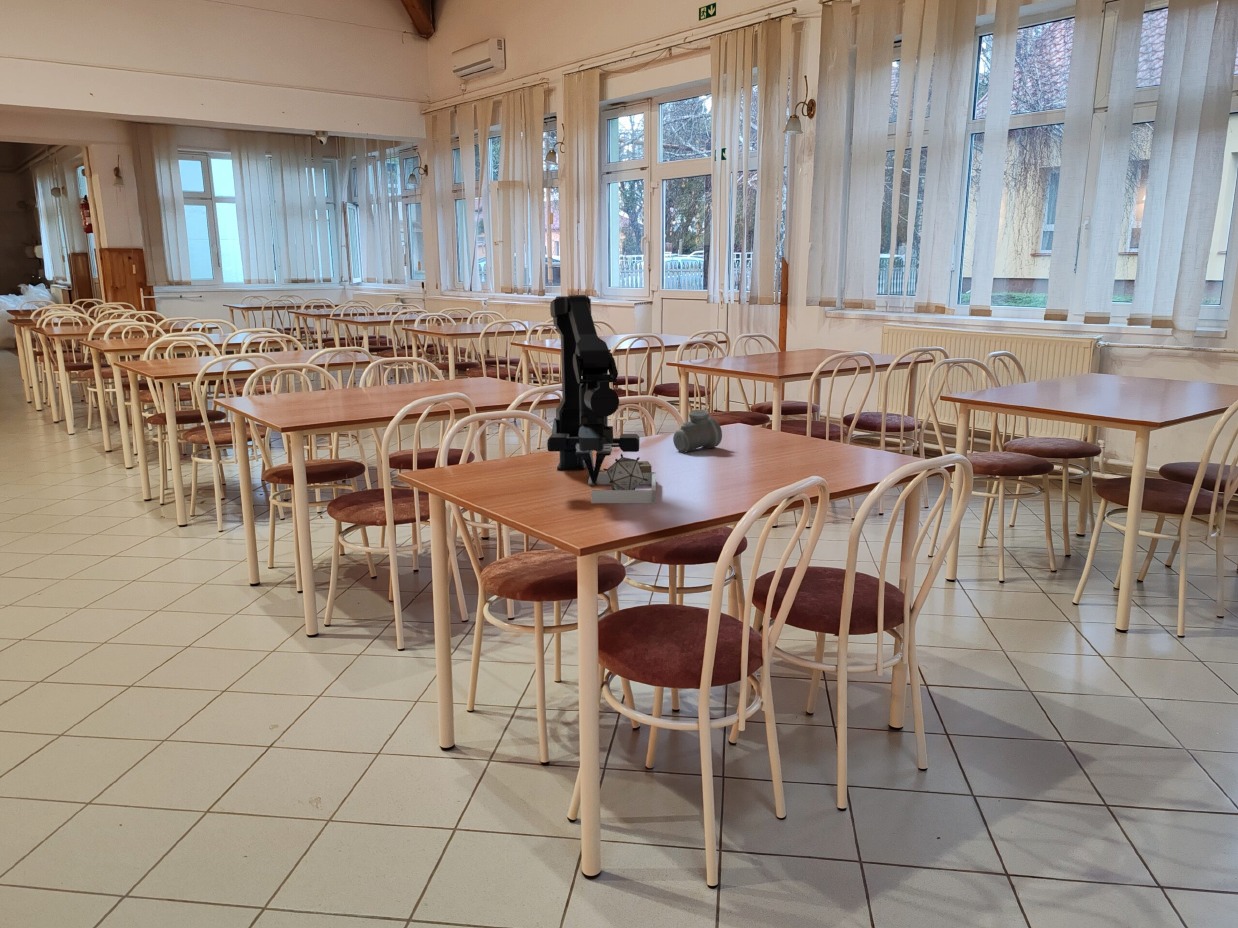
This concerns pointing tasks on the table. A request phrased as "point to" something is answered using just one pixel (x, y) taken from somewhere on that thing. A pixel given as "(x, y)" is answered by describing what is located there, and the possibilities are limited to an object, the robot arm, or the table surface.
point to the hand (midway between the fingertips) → (594, 483)
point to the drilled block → (645, 466)
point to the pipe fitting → (698, 432)
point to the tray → (624, 491)
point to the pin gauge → (590, 479)
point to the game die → (625, 474)
